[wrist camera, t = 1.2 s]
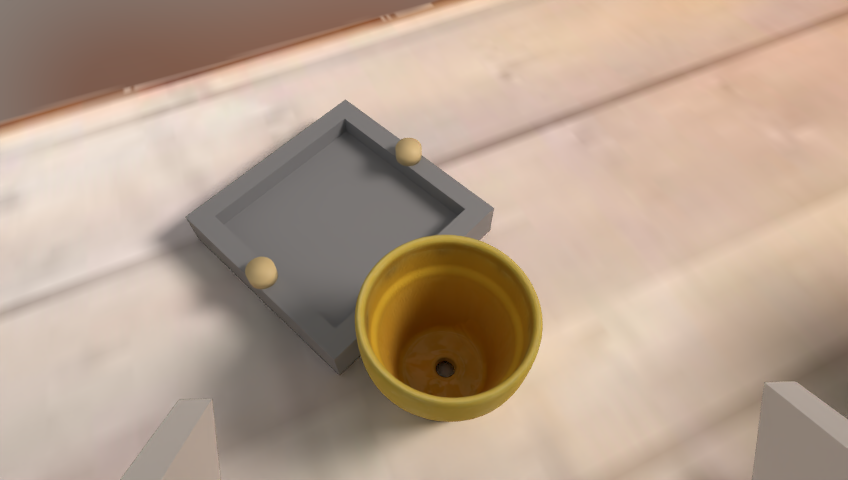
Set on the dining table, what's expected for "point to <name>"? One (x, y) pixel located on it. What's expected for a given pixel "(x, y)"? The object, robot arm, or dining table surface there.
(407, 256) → the plant pot
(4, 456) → the dining table surface
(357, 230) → the base
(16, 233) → the dining table surface
